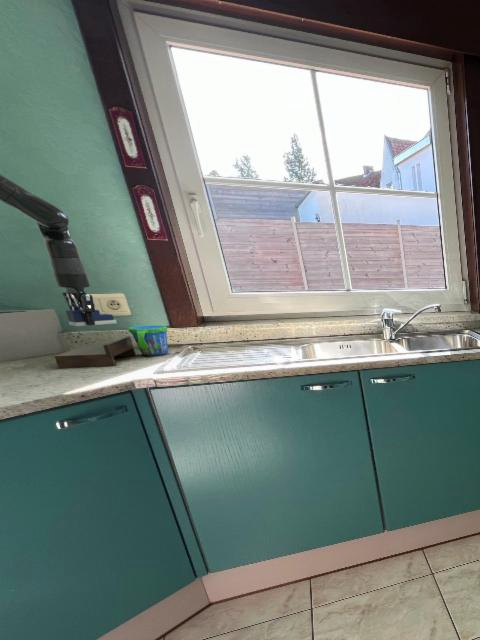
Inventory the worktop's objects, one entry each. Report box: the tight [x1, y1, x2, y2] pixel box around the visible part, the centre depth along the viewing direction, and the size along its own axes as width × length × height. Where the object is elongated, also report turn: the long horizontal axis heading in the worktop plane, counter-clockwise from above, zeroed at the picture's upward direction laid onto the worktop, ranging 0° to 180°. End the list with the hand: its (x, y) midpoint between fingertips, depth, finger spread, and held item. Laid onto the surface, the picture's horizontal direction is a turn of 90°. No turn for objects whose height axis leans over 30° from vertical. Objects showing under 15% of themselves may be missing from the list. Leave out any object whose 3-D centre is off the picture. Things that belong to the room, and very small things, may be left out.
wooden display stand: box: [54, 335, 137, 369], centre depth 170 cm, size 14×20×7 cm
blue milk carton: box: [65, 309, 118, 327], centre depth 170 cm, size 11×5×5 cm, turn 156°
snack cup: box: [128, 324, 169, 357], centre depth 183 cm, size 16×10×10 cm
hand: (86, 324), depth 169 cm, fingers closed on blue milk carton, 4 cm apart
